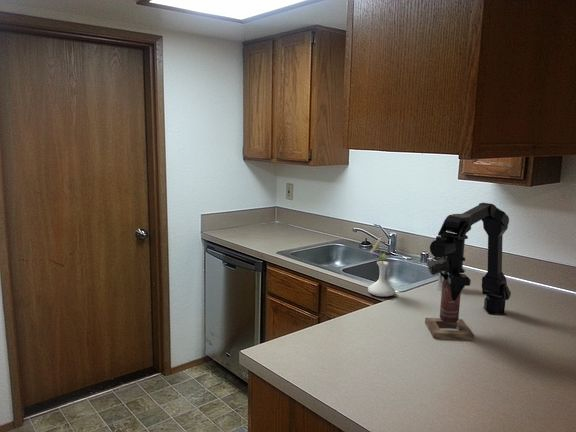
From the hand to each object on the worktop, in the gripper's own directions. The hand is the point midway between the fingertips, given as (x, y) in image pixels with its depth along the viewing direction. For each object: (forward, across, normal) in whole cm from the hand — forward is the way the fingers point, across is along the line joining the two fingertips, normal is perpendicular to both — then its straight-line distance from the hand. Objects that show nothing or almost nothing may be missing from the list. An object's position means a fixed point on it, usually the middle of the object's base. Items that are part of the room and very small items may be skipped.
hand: (451, 297), depth 157 cm
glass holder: (+13, -44, +10) cm, 47 cm away
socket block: (+12, 0, 0) cm, 12 cm away
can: (+8, 0, 0) cm, 8 cm away
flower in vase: (+12, -35, -19) cm, 42 cm away
